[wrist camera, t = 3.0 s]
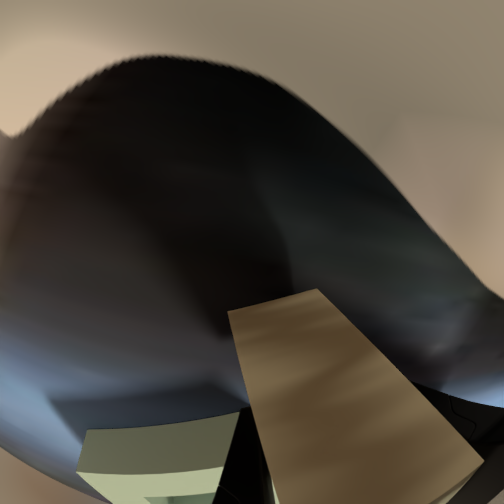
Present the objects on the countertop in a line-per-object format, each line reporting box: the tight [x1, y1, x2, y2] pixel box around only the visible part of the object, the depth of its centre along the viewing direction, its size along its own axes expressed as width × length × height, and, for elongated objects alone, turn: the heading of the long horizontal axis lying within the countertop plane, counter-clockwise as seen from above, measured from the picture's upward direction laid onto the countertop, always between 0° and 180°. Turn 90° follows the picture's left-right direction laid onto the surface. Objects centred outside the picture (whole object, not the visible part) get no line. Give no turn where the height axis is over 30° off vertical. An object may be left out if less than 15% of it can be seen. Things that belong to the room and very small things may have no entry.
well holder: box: [76, 412, 279, 504], centre depth 15 cm, size 12×12×4 cm
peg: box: [228, 288, 484, 504], centre depth 8 cm, size 4×4×10 cm
